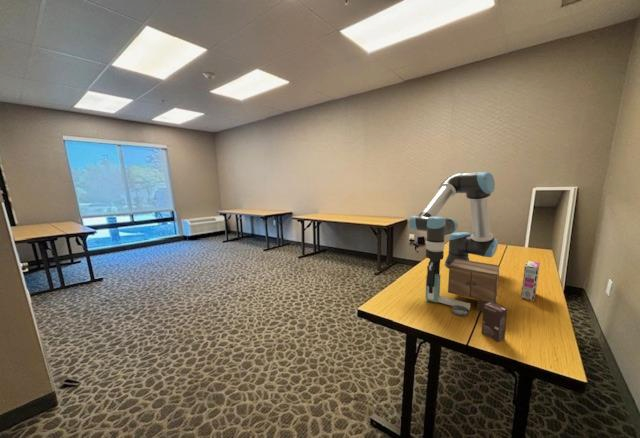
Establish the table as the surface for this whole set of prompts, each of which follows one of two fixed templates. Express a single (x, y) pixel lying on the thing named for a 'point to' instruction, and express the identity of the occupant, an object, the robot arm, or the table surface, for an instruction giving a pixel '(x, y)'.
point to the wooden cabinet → (474, 281)
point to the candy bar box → (530, 280)
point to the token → (460, 311)
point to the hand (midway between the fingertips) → (432, 296)
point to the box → (494, 321)
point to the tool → (444, 299)
